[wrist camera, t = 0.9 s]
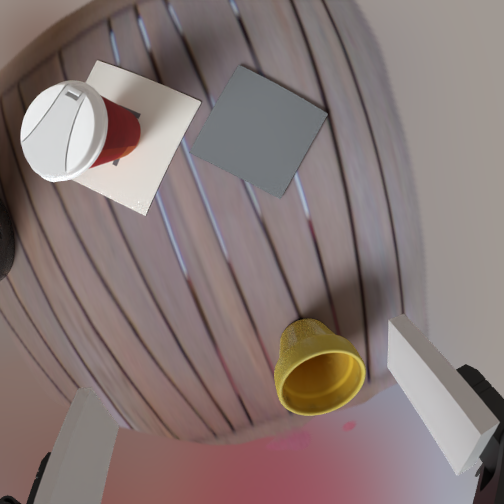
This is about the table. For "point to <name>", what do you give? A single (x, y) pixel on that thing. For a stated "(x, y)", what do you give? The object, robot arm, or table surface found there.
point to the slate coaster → (258, 131)
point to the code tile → (151, 139)
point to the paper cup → (75, 131)
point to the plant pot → (316, 369)
